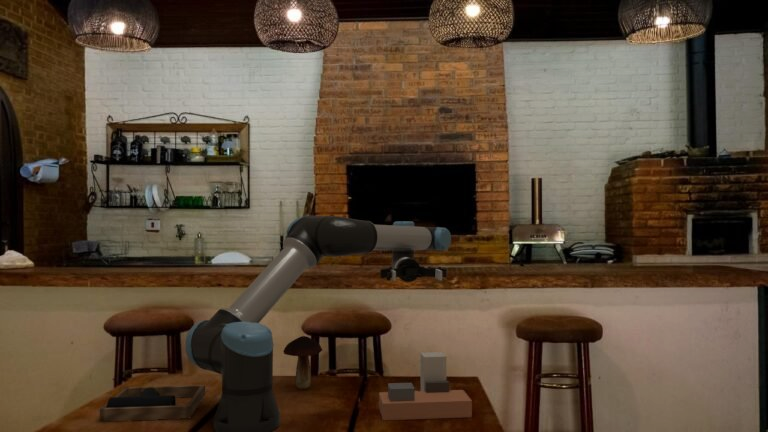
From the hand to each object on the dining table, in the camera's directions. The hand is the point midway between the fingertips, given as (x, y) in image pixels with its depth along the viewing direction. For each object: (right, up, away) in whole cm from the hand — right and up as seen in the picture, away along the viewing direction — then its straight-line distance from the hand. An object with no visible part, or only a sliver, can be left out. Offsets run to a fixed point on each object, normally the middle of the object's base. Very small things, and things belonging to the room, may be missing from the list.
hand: (417, 276), depth 167 cm
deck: (0, -32, -19) cm, 37 cm away
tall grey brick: (+3, -32, -13) cm, 34 cm away
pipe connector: (-70, -33, -21) cm, 80 cm away
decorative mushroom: (-33, -32, -2) cm, 46 cm away
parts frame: (-68, -32, -19) cm, 78 cm away
